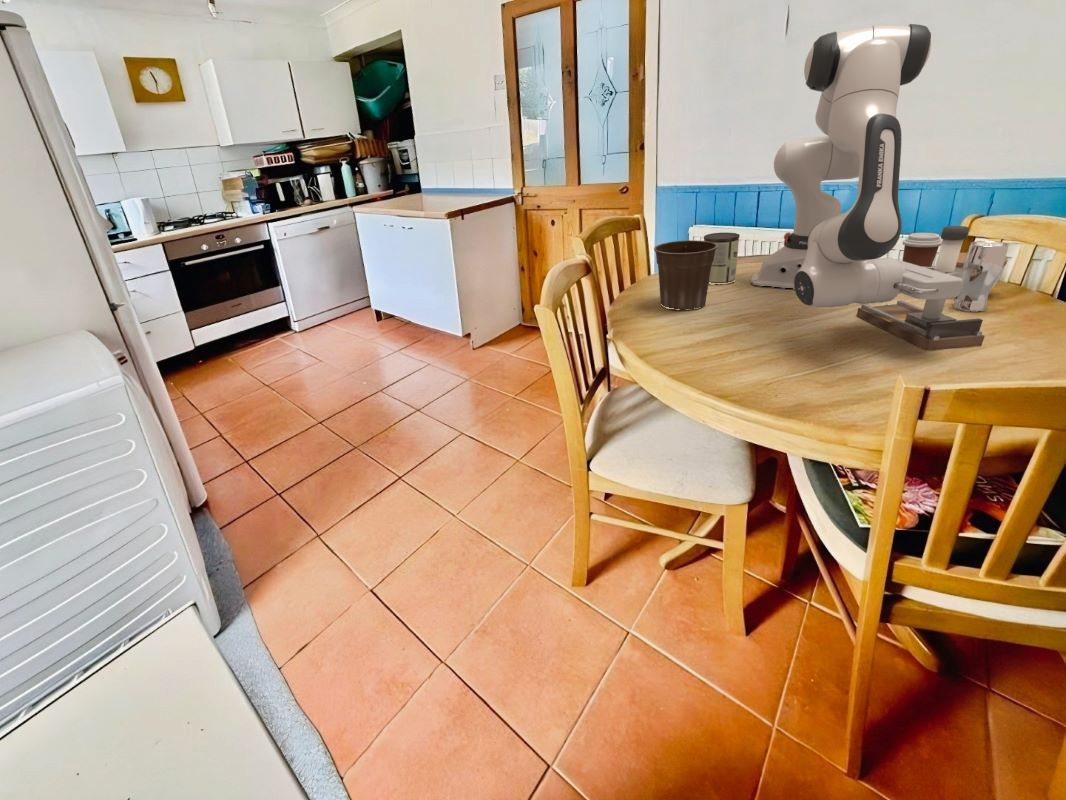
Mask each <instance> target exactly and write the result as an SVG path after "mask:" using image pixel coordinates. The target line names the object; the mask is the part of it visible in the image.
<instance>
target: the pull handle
mask: <svg viewBox="0 0 1066 800" xmlns="http://www.w3.org/2000/svg"><path fill="white" fill-rule="evenodd" d="M942 228H943V229H942V232H941V235H940V239H941V240H942V244H941V246H939V247H940V248H939V251H938V255H937V259H936V263H935V266H934V267H935V269H934V270H935V271H938V272H942V273H945V274H946V272H954V270H955V267H956V263H957V260H958V256H959V253H961V249H962V246H963V242H964V240H966V239H967V237H968V234H969V232H970V227H969V226H965V225H946V226H944V227H942ZM946 300H947V299H925V302H924V307H923V308H922V309H923V312H918V313H908V314H907V315H906V319H905V321H906V322H908V323H910V324H913V325H915V326H917V327H919V328H922V329H924V330H927V328H928V325H929V323H936V322H946V321H957V319H956V318H954V317H951V316H948V315H946V314H943V310H944V307H945V304H946Z"/></svg>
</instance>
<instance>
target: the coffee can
mask: <svg viewBox="0 0 1066 800" xmlns="http://www.w3.org/2000/svg"><path fill="white" fill-rule="evenodd" d="M703 241H708V242H713V243H716V244H717V245H718V247H717V249H716V250H715V255H714V261H713V262H712V265H711V271H710V278H709V282H711V283H728V282H732V281H734V280H735V281H736V273H737V263H738V252H739V241H740V234H738V233H735V232H712V233H708V234H705V235H704V236H703Z"/></svg>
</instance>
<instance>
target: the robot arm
mask: <svg viewBox="0 0 1066 800" xmlns="http://www.w3.org/2000/svg"><path fill="white" fill-rule="evenodd" d="M929 29H930V28H929V27H928V26H926V25H922V24H917V23H909V24H908V25H898V24H897V25H896V24H895V25H893V24H888V25H887V24H886V25H885V24H883V25H872V26H870V27H863V28H855V29H850V30H846V31H842V32H837V31H833V32H829V33H826V34H823V35H821V36H819V37H818V38H817V39H816V40H815V41H814V42H813V45H812V47H810V50H809V52H808V54H807V56H806V59H805V63H804V67H803V68H804V69H803V74H804V79H805V85H806V86H807V88H808V89H810V90H811V91H812V90H813V91H814V92H821V95H820V98H819V100H818V105H817V109H816V113H815V117H814V118H815V124H816V126H817V128H818V129H819V131H820V132H822V133H823V134H824V135H823V136H822V135H821V136H812V137H811V136H809V137H802V138H797V139H793V140H790V141H788V142H785V143H783V144H782V145H781V146H780V147H779V149H778V150H777V152H776V154H775V157H774V158H773V159H774V160H773V170H774V171H773V172H775V175H776V177H777V178H778V179H779V181H781V182H782V183H784V185H786V187H787V188H788V189H789V190H790V191H791V194H792V195H793V199H794V204H795V217H794V224H793V225H794V226H793V232H789V231H788V232H785V234H784V235H783V239H784V242H783V247H781V248H779V249H778V250H776V251H775V252H774V253H772V254H770V255H769V256H767V257H766V258H765V259H764V260H763V262H762V263H761V266H760V269H759V272H757V273H755V274H753V275H752V276H751V278H750V283H751V282H752V283H753V284H755V285H763V286H773V287H772V288H774V287H783V288H782V289H785V288H793V289H792V290H794V291H795V294H796V296H797V298H798V300H799V301H800V302H801V303H802V304H803V305H806V306H808V307H814V308H836V307H844V306H849V305H851V304H859V305H862V304H867V305H869V304H877V303H879V304H880V303H887V302H891V301H893V300H894V299H895V298H896V297H897V296H898V295H899V294H903V295H904V296H905V295H906V296H908V297H910V298H913V299H917V300H918V299H919V300H926V299H946V300H947V299H955V298H957V296H958V295H959V293H960V290H961V287H962V283H963V279H962V278H959V276H960V274H959V273H957V272H946V274H945V273H942V272H938V271H935V270H934V269H935V266H931V267H921V266H918V265H914V264H911V263H907V262H904V261H902V260H900V259H897V258H893V257H884V256H886V255H887V254H888V253H890V251H892V250H893V248H895V246H896V245H897V243H898V241H899V240H900V237H901V233H902V228H903V227H902V226H903V225H902V223H903V222H902V216H901V210H900V205H899V188H900V187H899V185H900V169H901V168H900V167H901V160H902V159H901V156H902V128H901V123H900V121H899V120H898V119H897V107H898V105H897V104H898V100H899V95H900V90H901V89H900V87H901V86H904V85H908V84H910V83H912V82H913V81H914V80H915V79H916V78H917V77H919V75H920V73H921V72H922V70H923V68H924V67H925V65H926V63H927V62H928V59H929V57H930V53H931V49H932V32H931V31H930V30H929ZM855 178H857V179H858V182H857V183H858V184H857V197H856V199H855V202H854V203H853V205H852V206H851V207H850V208H849V209H848V210H847V211H844V212H842V204H841V202H840V200H839V199H838V198H837V197H835V196H834V195H832V194H830V193H827V192H825V191H823V190H822V189H821V183H822V182H824V181H839V180H841V181H842V180H851V179H855ZM841 212H842V213H841ZM753 284H752V285H753Z"/></svg>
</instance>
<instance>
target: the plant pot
mask: <svg viewBox="0 0 1066 800" xmlns="http://www.w3.org/2000/svg"><path fill="white" fill-rule="evenodd" d="M717 247H718V245H717V244H716V243H713V242H708V241H704V240H692V239H691V240H676V241H675V240H674V241H667V242H664V243H660V244H657V245H656V246H654V248H653V251H654V252H655V256H656V257H655V258H656V264H657V269H658V270H657V271H658V282H659V297H660V298H659V301H660V305H661V304H662V305H663V306H665V307H669V308H674V309H681V310H685V309H694V308H699V307H701V308H703V307H705V306H706V303H707V297H708V290H709V278H710V271H711V265H712V262H713V261H714V255H715V250H716V249H717ZM702 306H703V307H702ZM699 309H700V308H699Z"/></svg>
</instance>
